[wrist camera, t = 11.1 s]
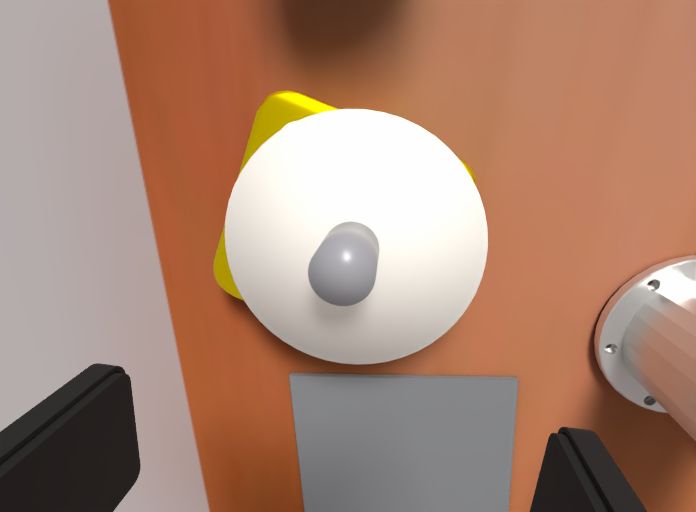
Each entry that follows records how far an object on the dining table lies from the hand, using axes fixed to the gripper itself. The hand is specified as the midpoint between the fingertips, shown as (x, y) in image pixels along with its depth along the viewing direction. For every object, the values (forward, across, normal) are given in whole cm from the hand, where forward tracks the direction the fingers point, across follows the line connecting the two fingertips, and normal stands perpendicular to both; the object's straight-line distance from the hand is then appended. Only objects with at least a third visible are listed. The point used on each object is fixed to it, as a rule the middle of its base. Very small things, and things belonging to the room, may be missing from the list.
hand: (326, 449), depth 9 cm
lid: (+18, +2, 0) cm, 18 cm away
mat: (+23, -4, +22) cm, 32 cm away
